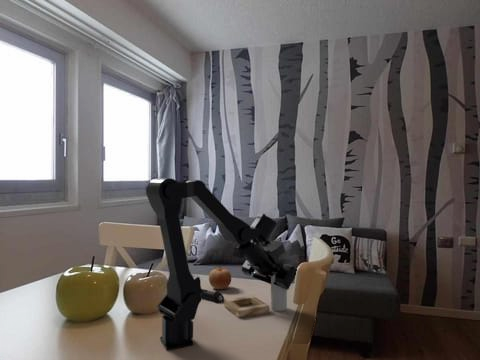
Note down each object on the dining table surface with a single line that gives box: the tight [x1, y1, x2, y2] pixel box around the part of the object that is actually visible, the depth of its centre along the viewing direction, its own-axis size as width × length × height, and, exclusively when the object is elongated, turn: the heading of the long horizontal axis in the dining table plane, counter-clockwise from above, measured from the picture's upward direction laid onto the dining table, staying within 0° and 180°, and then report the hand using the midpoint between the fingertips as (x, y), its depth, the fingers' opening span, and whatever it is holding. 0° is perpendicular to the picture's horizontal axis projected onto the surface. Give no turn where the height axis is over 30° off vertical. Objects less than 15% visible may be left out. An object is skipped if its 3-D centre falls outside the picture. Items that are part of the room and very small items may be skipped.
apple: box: [208, 265, 232, 290], centre depth 128 cm, size 8×8×8 cm
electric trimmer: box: [201, 288, 225, 304], centre depth 118 cm, size 4×16×3 cm, turn 56°
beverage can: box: [270, 269, 288, 313], centre depth 108 cm, size 5×5×12 cm
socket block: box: [223, 295, 270, 319], centre depth 108 cm, size 10×10×2 cm
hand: (282, 286), depth 109 cm, fingers closed on beverage can, 5 cm apart
